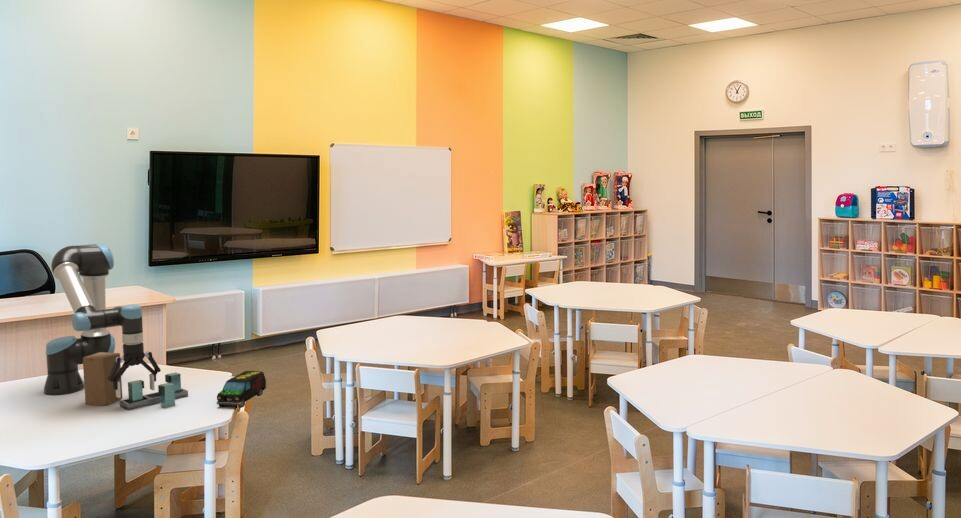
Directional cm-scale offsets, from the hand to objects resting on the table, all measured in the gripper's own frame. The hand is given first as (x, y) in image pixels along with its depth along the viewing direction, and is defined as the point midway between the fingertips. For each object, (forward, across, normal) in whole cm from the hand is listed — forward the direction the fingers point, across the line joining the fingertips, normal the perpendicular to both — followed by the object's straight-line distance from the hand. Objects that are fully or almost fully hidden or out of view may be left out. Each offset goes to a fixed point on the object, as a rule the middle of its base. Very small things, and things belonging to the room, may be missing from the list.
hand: (135, 393), depth 283 cm
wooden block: (+5, -6, +16) cm, 18 cm away
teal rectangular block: (+4, 0, 0) cm, 4 cm away
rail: (+5, +8, 0) cm, 9 cm away
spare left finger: (+5, +8, -10) cm, 14 cm away
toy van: (+5, +33, -26) cm, 42 cm away
